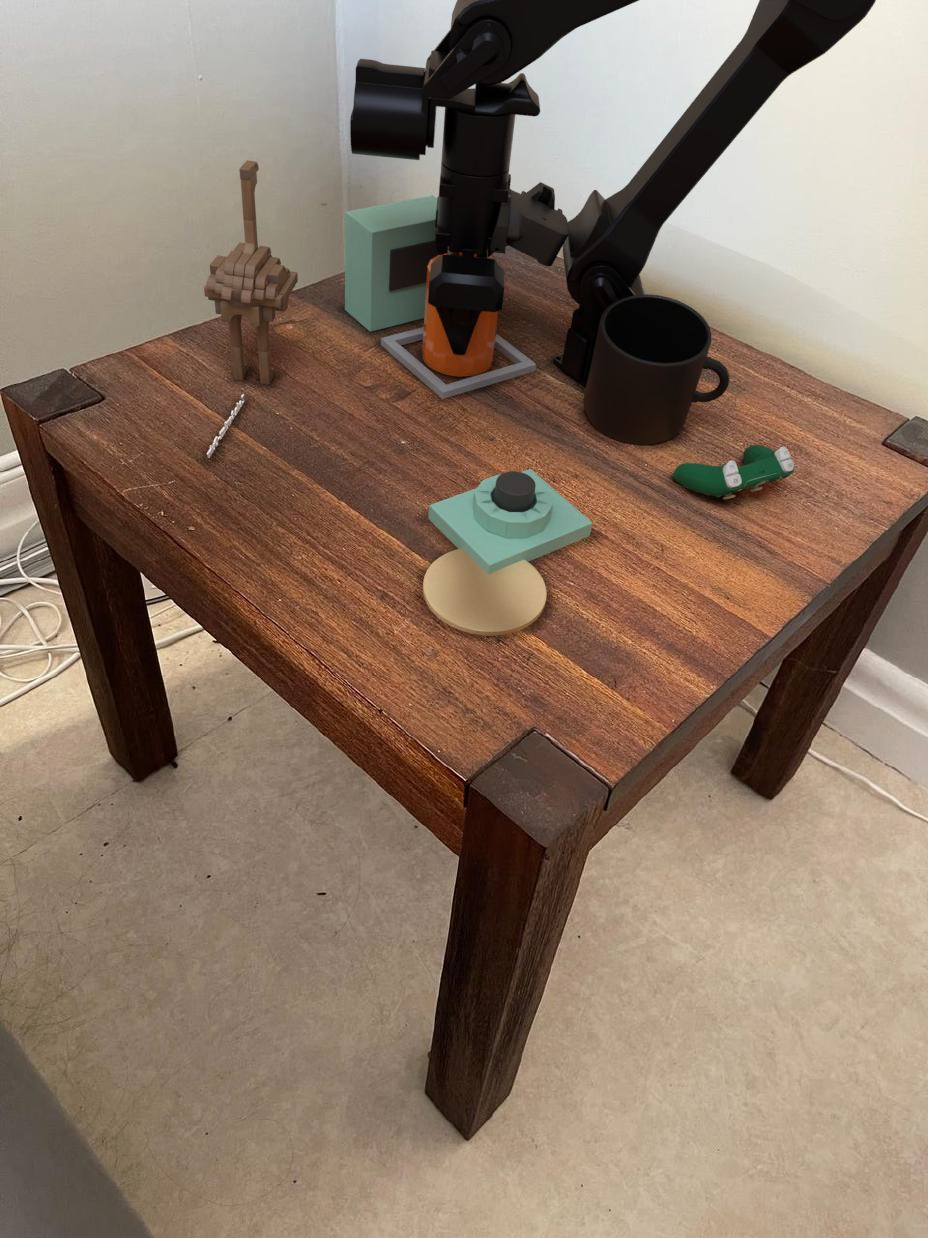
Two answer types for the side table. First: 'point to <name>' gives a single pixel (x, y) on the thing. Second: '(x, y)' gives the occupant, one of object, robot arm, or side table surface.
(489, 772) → the side table surface
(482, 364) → the cup
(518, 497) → the stop button
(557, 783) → the side table surface
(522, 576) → the coaster
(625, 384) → the mug
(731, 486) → the gaming controller
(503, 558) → the button base
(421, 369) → the mint block with tray
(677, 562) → the side table surface
